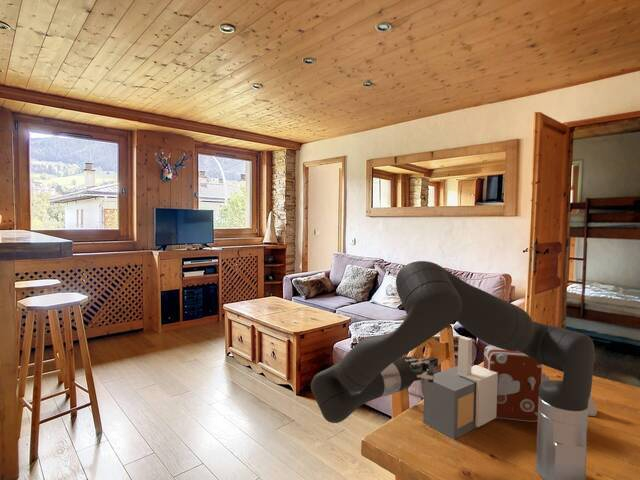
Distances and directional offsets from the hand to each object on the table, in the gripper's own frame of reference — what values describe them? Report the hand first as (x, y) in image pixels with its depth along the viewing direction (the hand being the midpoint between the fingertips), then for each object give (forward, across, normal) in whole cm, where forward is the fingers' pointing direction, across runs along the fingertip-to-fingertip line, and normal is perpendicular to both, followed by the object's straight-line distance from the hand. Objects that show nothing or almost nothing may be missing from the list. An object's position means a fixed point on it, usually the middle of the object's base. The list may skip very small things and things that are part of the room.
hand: (435, 361), depth 98 cm
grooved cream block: (+16, -2, +19) cm, 25 cm away
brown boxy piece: (+29, -8, +20) cm, 37 cm away
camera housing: (+13, +1, +20) cm, 24 cm away
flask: (+48, -17, +21) cm, 55 cm away
